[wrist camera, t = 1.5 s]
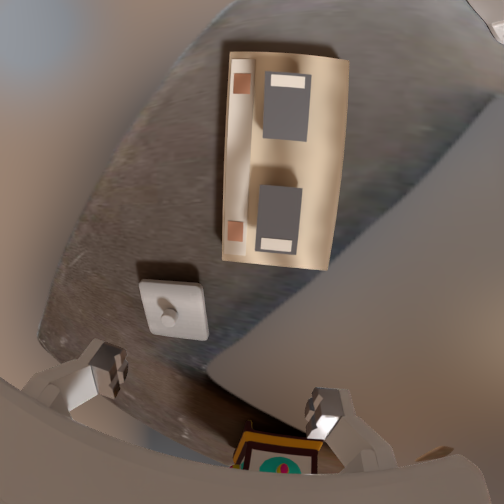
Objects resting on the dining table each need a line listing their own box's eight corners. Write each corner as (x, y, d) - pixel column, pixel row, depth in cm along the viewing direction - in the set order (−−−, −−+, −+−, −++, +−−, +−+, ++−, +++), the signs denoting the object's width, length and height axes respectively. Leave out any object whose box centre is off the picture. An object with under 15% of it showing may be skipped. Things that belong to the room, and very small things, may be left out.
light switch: (156, 324, 45) (144, 343, 41) (145, 272, 42) (129, 289, 37) (212, 330, 44) (204, 351, 40) (206, 275, 40) (195, 294, 36)
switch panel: (344, 66, 27) (350, 58, 23) (324, 260, 37) (328, 274, 33) (234, 58, 28) (228, 49, 25) (227, 250, 38) (220, 263, 35)
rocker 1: (310, 74, 24) (311, 74, 23) (305, 138, 28) (306, 142, 27) (266, 71, 24) (264, 71, 23) (264, 135, 28) (262, 138, 27)
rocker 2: (301, 188, 30) (302, 188, 29) (295, 252, 32) (296, 255, 30) (261, 185, 31) (259, 184, 29) (256, 248, 32) (254, 251, 30)
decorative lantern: (331, 426, 52) (333, 549, 24) (302, 460, 60) (296, 557, 33) (241, 413, 53) (213, 543, 25) (228, 449, 61) (206, 547, 33)
